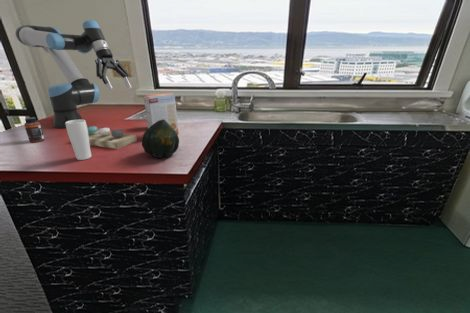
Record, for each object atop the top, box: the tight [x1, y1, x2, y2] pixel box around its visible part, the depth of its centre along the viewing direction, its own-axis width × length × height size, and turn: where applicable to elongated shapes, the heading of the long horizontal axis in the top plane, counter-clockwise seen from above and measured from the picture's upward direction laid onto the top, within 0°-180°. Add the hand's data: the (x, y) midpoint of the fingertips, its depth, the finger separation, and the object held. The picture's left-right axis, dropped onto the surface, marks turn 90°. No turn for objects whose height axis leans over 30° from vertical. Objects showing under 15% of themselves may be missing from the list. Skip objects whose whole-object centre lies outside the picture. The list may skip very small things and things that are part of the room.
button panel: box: [88, 131, 138, 150], centre depth 118 cm, size 26×12×3 cm, turn 69°
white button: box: [97, 127, 111, 135], centre depth 117 cm, size 5×5×2 cm
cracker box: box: [143, 92, 179, 135], centre depth 124 cm, size 14×6×21 cm, turn 134°
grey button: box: [110, 128, 125, 137], centre depth 114 cm, size 5×5×2 cm
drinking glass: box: [65, 118, 92, 161], centre depth 97 cm, size 7×7×15 cm
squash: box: [141, 119, 180, 159], centre depth 101 cm, size 14×15×15 cm
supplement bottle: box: [23, 116, 46, 143], centre depth 117 cm, size 6×6×11 cm
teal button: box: [87, 125, 99, 133], centre depth 119 cm, size 5×5×2 cm
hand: (120, 89), depth 135 cm, fingers open, 13 cm apart
